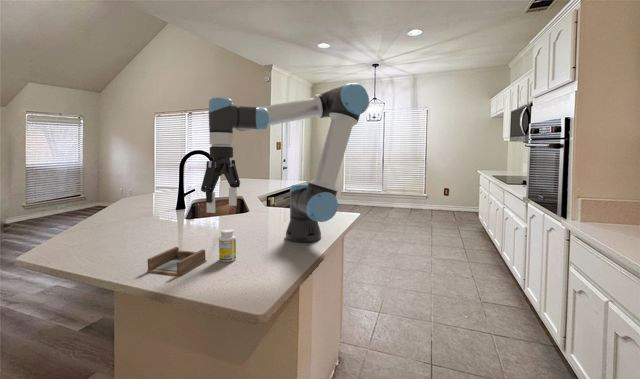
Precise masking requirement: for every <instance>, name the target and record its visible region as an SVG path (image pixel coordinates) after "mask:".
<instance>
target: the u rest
mask: <svg viewBox="0 0 640 379" xmlns="http://www.w3.org/2000/svg"><path fill="white" fill-rule="evenodd" d="M206 262H207V259H206V249H201V250H198V251H191V250H190V251H189V250H180V249H179V246H174V247H172V248H170V249H167V250H165V251H162V252H161V253H158V254H157V255H154V256H151V257H149V258H147V271H146V272H147V273H152V274H153V273H154V274H162V275H168V276H169V275H170V276H177V277H178V276H179V277H183V276H184V275H186V274H187V273H189V272H191V271H192V270H194V269H197V268H198V267H199V266H201V265H203V264H205V263H206Z"/></svg>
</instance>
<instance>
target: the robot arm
mask: <svg viewBox="0 0 640 379" xmlns="http://www.w3.org/2000/svg"><path fill="white" fill-rule="evenodd" d="M369 104H370V96H369V94H368V92H367V89H366V88H365V87H364V86H363V85H362V84H360V83H356V82H353V83H352V82H351V83H346V84H344V85H340V86H338V87H335V88H331V89H330V90H327V91H325V92H322V93H318V94H314V95H312V97H310V98H304V99H299V100H294V101H287V102H282V103H276V104H275V103H274V104H270V105H264V106H243V105H241V106H240V105H235V104H234V103H233V99H231V98H228V97H211V98H210V99H209V101H208V130H209V131H208V132H209V145H211V146H210V147H209V157H210V158H211V159H212V160H209V161H208V160H207V161H206V166H205V170H204V176H203V180H202V184H201V187H200V191H201V192H202V193H205V202H206V204H205V205H206V213H207V214H209V213H211V214H216V192H214V190H215V188H216V186H217V183H218V181H219V178H220V177H221V176H223V175H224V177H225V179H226V181H227V183H228V185H229V187H228V206H229V207H231V206H232V207H236V206H237V205H238V204H237V203H238V202H237V201H238V197H237V196H238V195H237V194H238V191H237V189H238V188H240V185H241V181H240V177H239V174H238V171H237V166H236V160H235V159H233V157H234V147H233V145H234V134H233V132H234V131H233V130H234V129H235V130H237V131H239V132H245V131H249V130H250V131H251V130H258V131H259V130H266V129H268V127H269V126H275V125H279V124H280V125H281V124H285V123H289V122H294V121H300V120H305V119H310V118H316V119H323V118H330V124H329V127H328V131H327V134H326V137H325V141H324V145H323V147H322V151H321V154H320V156H319V157H320V158H319V161H318V164H317V167H316V171H315V174H314V178H313V179H312V180H310V181H308V184H292V185H291V186H290V188H289V189H290V190H289V222H288V225H287V229H286V231H285V238H286V239H287V240H288V241H292V242H295V243H312V242H316V241H319V240H321V239H322V231H321V228H320V225H319V224H320V223H324V222H328V221H330V220H331V219H333V217H335V215H336V213H337V211H338V208H339V202H338V200H337V194H338V189H337V187H336V183H337V179H338V177H339V173H340V169H341V166H342V164H343V160H344V156H345V153H346V151H347V150H346V149H347V146H348V142H349V139H350V136H351V133H352V129H353V127H354V126H356V125H357V124H358V123H359V120H360V117H361V114H364V113H365V111H367V109H368V107H369Z"/></svg>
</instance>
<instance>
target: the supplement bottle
mask: <svg viewBox="0 0 640 379" xmlns="http://www.w3.org/2000/svg"><path fill="white" fill-rule="evenodd" d="M236 240H237V236H235V235H234V230H233V229H223V230H221V231H220V236H219V237H218V253H219V257H218V259H219V261H220V262H223V263H229V262H230V263H231V262H234V261H235V260H237V241H236Z"/></svg>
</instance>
